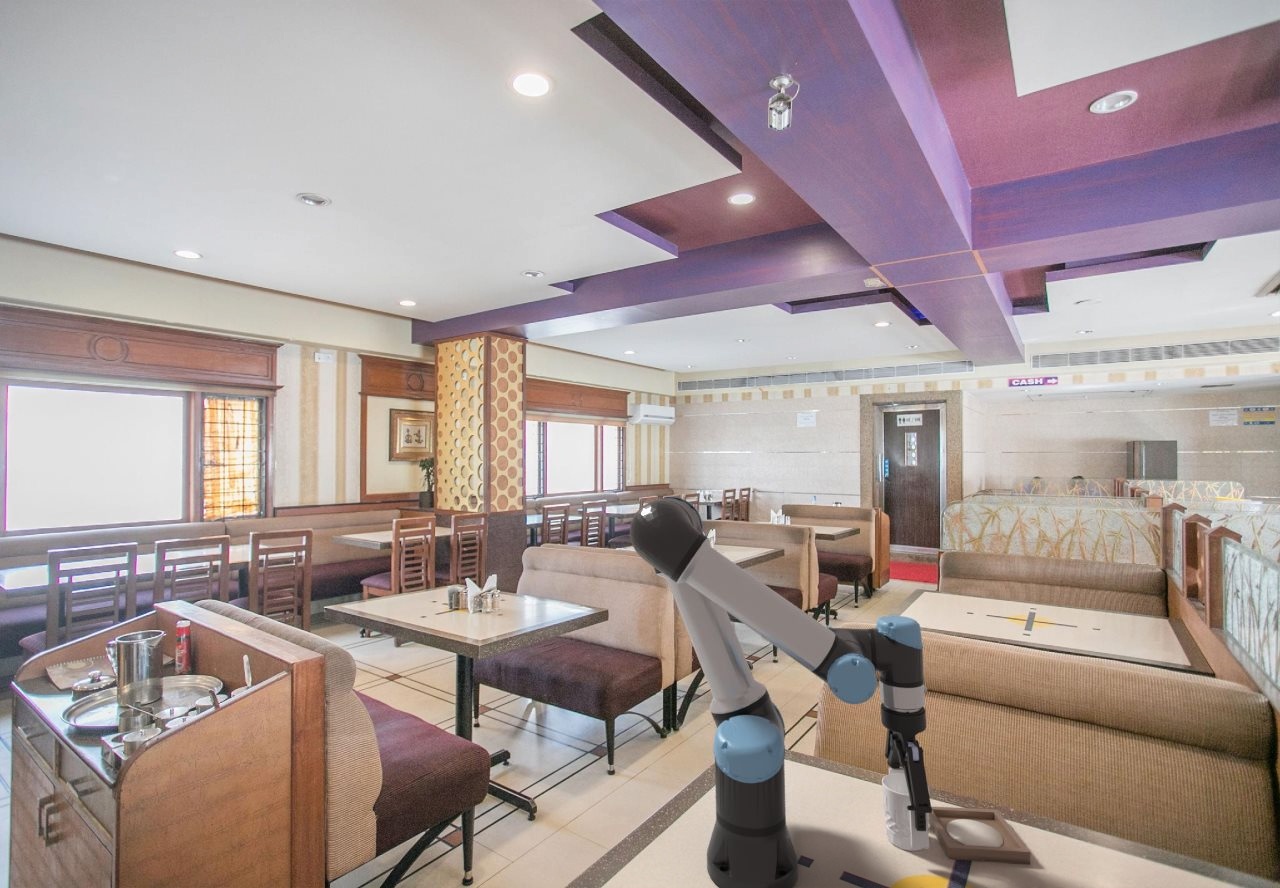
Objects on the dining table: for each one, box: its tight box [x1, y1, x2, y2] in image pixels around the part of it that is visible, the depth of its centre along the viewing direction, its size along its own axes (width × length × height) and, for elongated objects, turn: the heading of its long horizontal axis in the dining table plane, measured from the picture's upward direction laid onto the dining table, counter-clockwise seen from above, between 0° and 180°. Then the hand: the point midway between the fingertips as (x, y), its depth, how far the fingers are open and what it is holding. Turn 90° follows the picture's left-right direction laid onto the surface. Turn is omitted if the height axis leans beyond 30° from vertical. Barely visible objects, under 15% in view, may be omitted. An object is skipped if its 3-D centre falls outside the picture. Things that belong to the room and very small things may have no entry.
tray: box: [928, 805, 1031, 865], centre depth 114 cm, size 13×13×2 cm
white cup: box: [881, 773, 930, 852], centre depth 114 cm, size 8×8×10 cm
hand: (908, 824), depth 114 cm, fingers open, 13 cm apart
